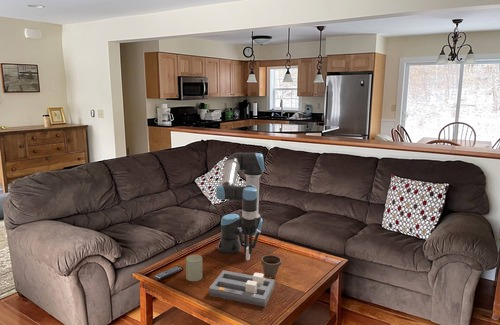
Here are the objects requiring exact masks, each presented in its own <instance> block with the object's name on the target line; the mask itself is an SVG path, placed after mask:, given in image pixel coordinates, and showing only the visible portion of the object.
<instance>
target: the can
mask: <svg viewBox="0 0 500 325" xmlns="http://www.w3.org/2000/svg"><path fill="white" fill-rule="evenodd" d="M185 270H186V271H185V279H186V280H188V281H190V282H198V281H200V280H202V279H203V256H201V255H200V254H190V255H187V256H186V258H185Z"/></svg>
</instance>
